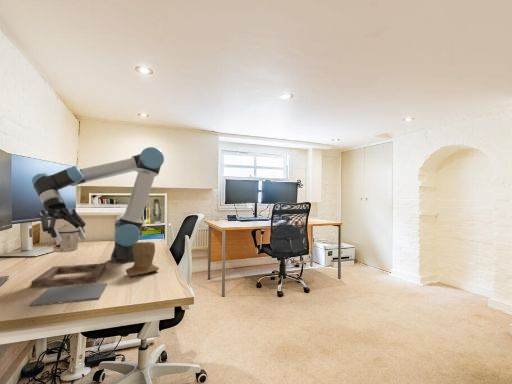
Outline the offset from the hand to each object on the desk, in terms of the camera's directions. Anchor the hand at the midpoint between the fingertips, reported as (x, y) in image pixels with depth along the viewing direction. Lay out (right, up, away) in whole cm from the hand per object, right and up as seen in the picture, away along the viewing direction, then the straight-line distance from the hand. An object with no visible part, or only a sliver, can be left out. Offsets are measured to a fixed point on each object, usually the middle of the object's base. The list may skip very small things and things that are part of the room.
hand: (72, 241), depth 110 cm
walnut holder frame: (-3, -17, +5) cm, 18 cm away
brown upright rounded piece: (+24, -18, +13) cm, 32 cm away
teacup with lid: (-3, -5, +1) cm, 6 cm away
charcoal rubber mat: (+10, -17, -14) cm, 25 cm away
